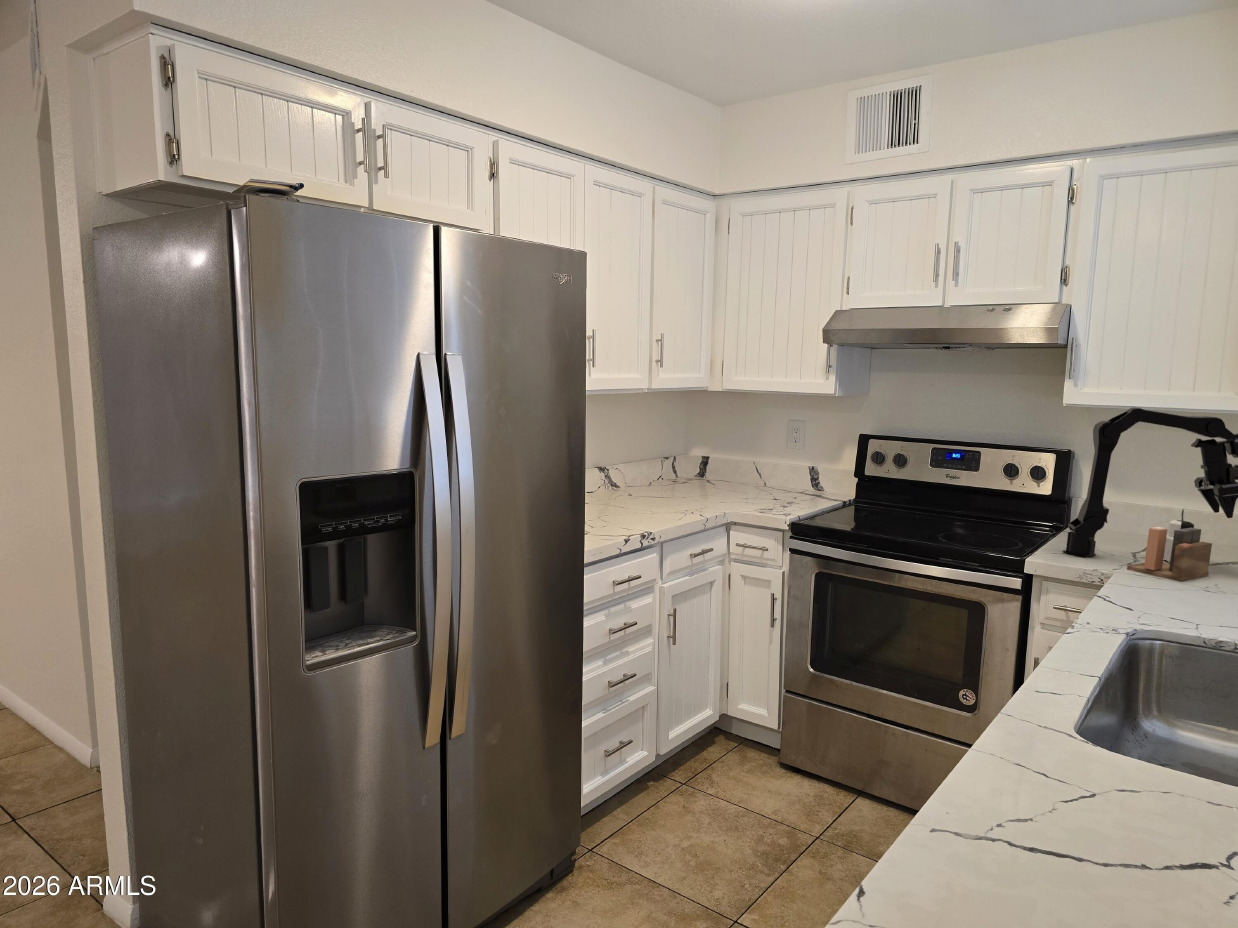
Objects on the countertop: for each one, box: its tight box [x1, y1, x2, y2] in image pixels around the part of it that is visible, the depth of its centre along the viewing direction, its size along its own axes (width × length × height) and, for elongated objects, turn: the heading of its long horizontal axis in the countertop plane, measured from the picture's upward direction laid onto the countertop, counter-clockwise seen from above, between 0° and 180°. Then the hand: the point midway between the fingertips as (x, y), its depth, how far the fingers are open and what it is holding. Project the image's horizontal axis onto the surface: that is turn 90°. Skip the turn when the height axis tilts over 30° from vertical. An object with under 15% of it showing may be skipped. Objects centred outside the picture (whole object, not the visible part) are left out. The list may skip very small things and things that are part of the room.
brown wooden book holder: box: [1126, 527, 1213, 583], centre depth 221 cm, size 14×16×12 cm
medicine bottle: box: [1163, 519, 1195, 563], centre depth 236 cm, size 7×7×12 cm
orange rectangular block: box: [1143, 526, 1168, 570], centre depth 219 cm, size 2×5×11 cm, turn 122°
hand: (1223, 515), depth 227 cm, fingers open, 9 cm apart
